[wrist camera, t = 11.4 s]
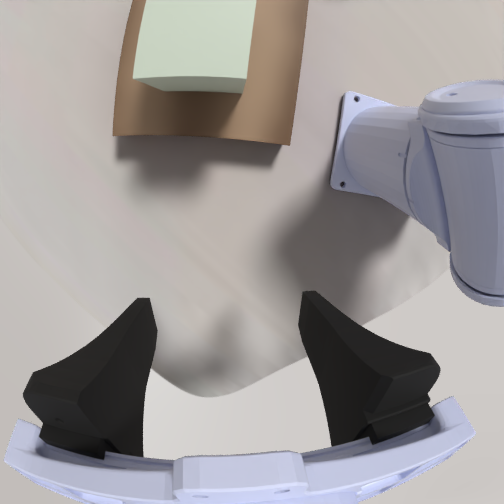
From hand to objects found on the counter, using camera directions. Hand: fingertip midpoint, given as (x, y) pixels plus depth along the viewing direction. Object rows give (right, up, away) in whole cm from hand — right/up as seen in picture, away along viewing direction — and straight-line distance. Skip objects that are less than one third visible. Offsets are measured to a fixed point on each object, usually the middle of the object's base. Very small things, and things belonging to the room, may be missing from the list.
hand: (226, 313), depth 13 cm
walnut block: (-2, +17, +4) cm, 17 cm away
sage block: (-2, +15, +1) cm, 15 cm away
